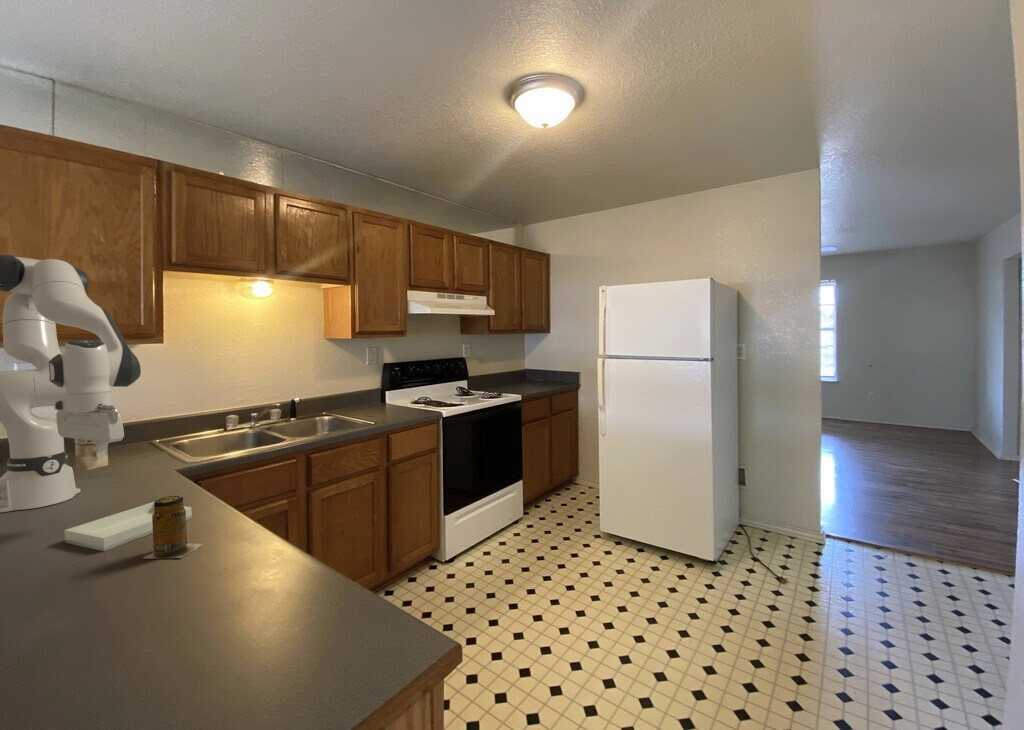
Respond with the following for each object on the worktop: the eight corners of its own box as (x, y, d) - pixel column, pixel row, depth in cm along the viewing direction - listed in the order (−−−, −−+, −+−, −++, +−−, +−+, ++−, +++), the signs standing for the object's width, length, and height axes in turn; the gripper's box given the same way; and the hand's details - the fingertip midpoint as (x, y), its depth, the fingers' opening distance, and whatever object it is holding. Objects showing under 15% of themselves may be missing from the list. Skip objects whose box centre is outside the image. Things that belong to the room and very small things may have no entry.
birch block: (76, 468, 117) (75, 444, 117) (97, 463, 121) (95, 441, 121) (87, 469, 116) (86, 446, 115) (108, 465, 120) (107, 442, 120)
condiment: (167, 544, 107) (165, 493, 106) (204, 544, 106) (201, 493, 106) (142, 559, 99) (139, 505, 99) (181, 559, 99) (178, 505, 99)
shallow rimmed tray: (65, 542, 108) (64, 530, 107) (155, 512, 126) (154, 501, 126) (104, 551, 103) (103, 538, 103) (192, 518, 122) (191, 507, 122)
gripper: (130, 404, 117) (132, 457, 118) (79, 399, 124) (81, 450, 125) (101, 407, 111) (104, 463, 112) (49, 402, 118) (52, 455, 119)
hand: (92, 456), depth 118 cm, fingers closed on birch block, 4 cm apart
